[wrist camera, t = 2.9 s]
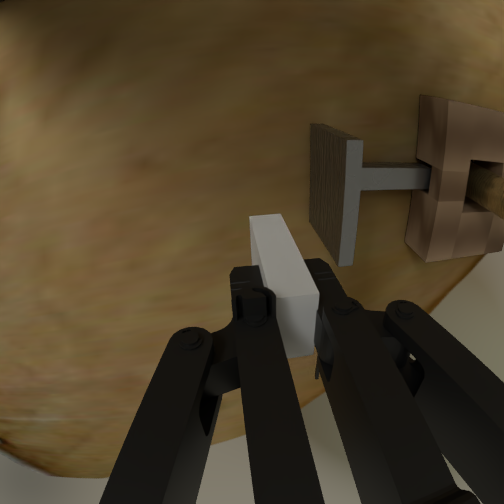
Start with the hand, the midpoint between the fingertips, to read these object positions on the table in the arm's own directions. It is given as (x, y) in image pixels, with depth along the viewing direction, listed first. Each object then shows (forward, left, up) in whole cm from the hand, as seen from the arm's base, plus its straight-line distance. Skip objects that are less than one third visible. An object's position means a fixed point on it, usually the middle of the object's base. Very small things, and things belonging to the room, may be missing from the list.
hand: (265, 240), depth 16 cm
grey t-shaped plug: (0, +10, -10) cm, 14 cm away
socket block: (0, +20, -10) cm, 23 cm away
